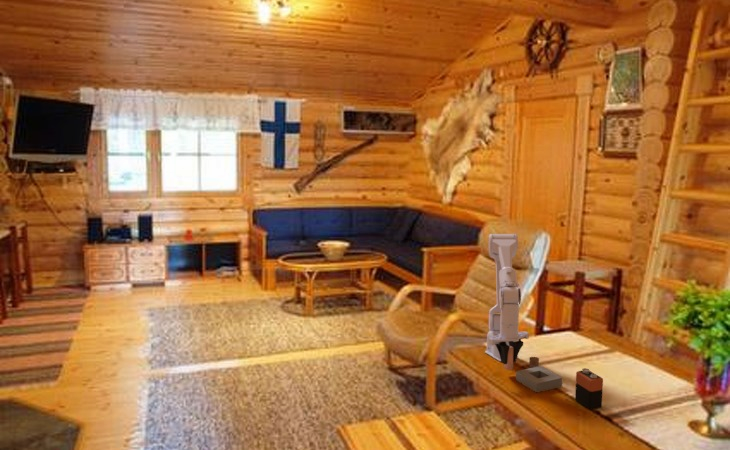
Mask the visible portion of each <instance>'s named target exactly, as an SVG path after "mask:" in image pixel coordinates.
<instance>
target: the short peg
mask: <svg viewBox="0 0 730 450" xmlns="http://www.w3.org/2000/svg"><path fill="white" fill-rule="evenodd" d="M539 362H540V358H539V357H537V356H530V357H529V368H533V367H538V366H540V363H539ZM529 368H528V369H529Z"/></svg>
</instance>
